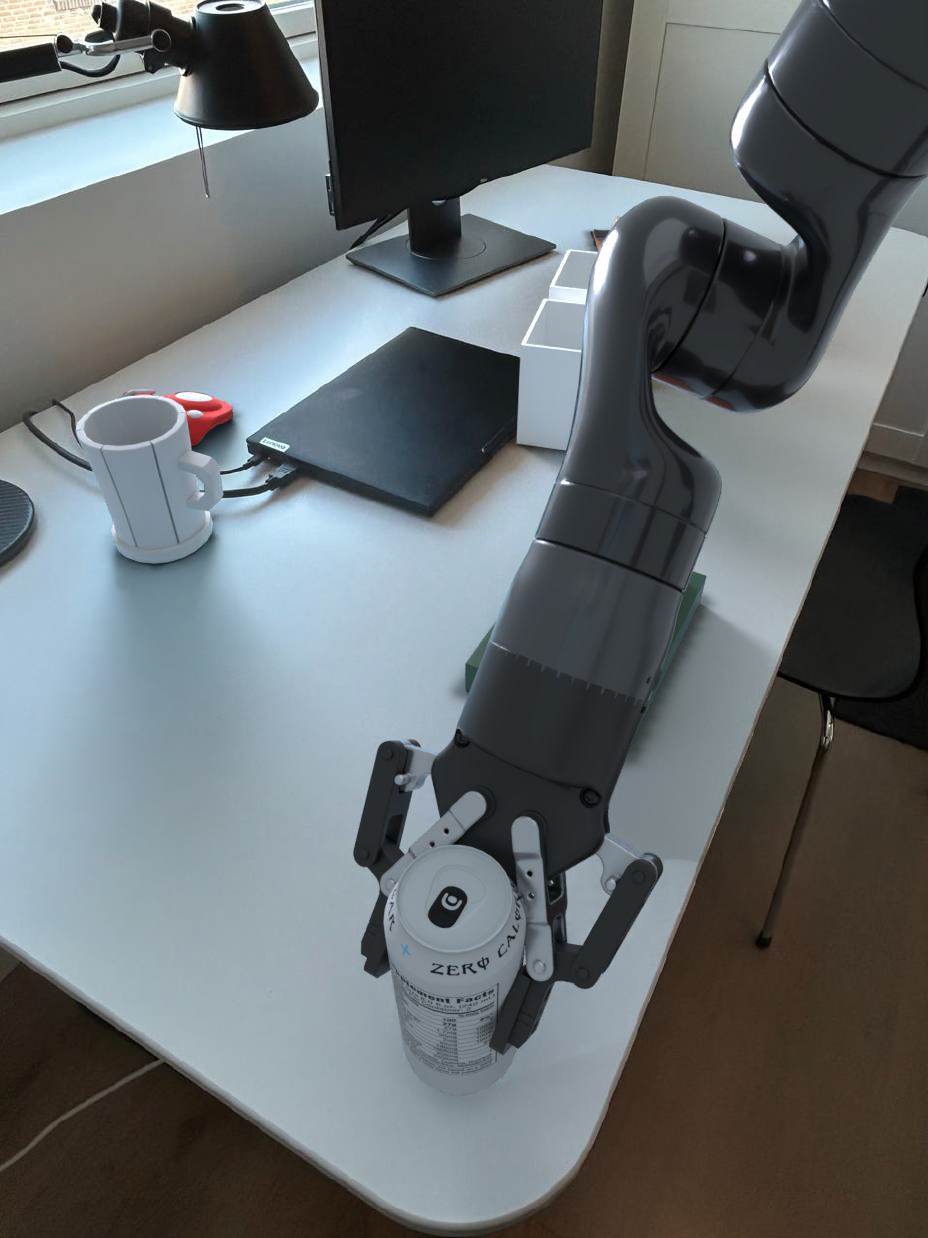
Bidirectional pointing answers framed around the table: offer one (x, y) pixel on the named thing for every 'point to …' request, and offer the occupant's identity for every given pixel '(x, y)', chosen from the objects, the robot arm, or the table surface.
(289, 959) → the table surface
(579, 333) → the storage container
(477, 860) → the energy drink can
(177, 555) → the cup
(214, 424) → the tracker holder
